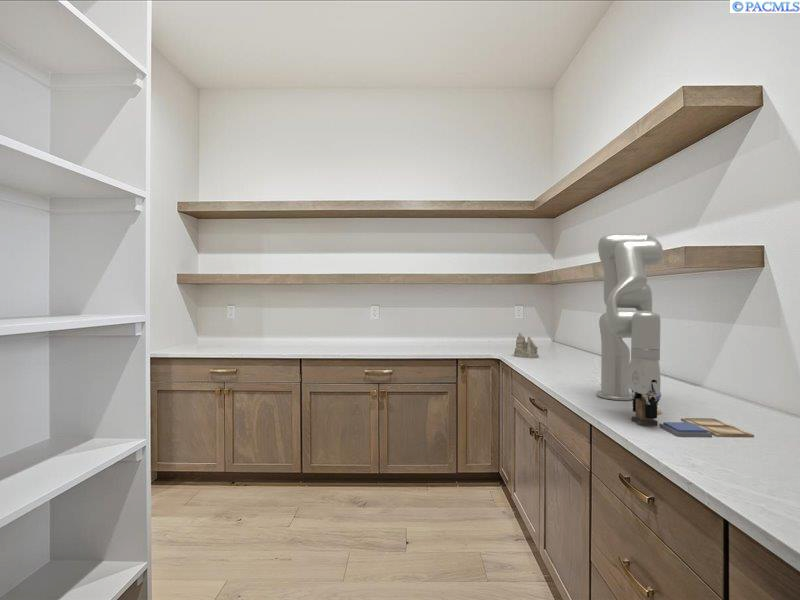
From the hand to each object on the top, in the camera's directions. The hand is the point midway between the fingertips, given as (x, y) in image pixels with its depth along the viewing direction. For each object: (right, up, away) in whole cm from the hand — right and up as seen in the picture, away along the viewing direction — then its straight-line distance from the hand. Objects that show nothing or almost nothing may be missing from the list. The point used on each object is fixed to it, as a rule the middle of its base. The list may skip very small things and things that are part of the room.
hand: (644, 414), depth 135 cm
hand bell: (+8, -3, +14) cm, 16 cm away
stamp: (0, -3, 0) cm, 3 cm away
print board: (+18, -3, -4) cm, 19 cm away
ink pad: (+7, -3, -8) cm, 11 cm away
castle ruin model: (+6, -1, +146) cm, 146 cm away
